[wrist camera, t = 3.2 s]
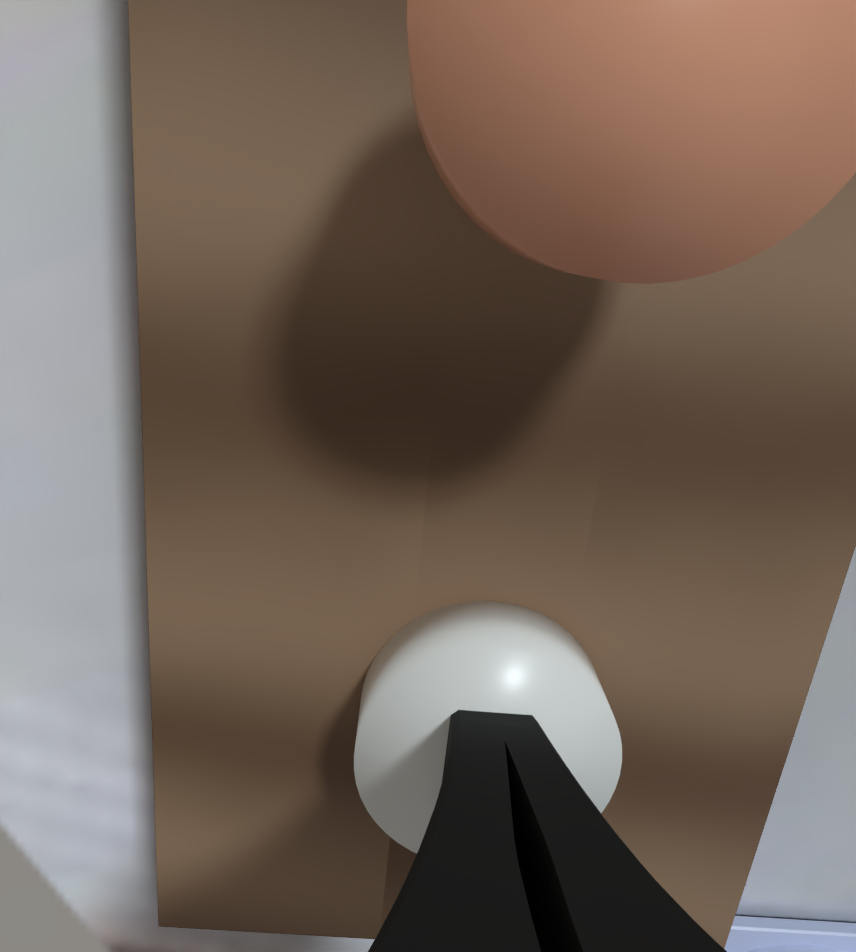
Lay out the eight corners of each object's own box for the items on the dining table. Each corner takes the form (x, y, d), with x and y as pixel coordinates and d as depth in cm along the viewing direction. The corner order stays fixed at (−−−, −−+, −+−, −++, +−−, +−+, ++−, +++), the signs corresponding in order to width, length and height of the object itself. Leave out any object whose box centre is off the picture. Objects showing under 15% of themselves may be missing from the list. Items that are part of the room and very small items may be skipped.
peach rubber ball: (689, 282, 10) (847, 306, 7) (397, 252, 10) (386, 258, 6) (764, -67, 9) (1018, -292, 5) (427, -111, 9) (434, -380, 5)
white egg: (553, 724, 16) (596, 875, 12) (362, 710, 16) (345, 859, 12) (586, 551, 14) (646, 661, 11) (377, 533, 14) (362, 638, 11)
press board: (672, 844, 18) (720, 959, 15) (201, 813, 17) (159, 925, 14) (971, -246, 11) (1169, -421, 8) (193, -358, 10) (108, -590, 7)
